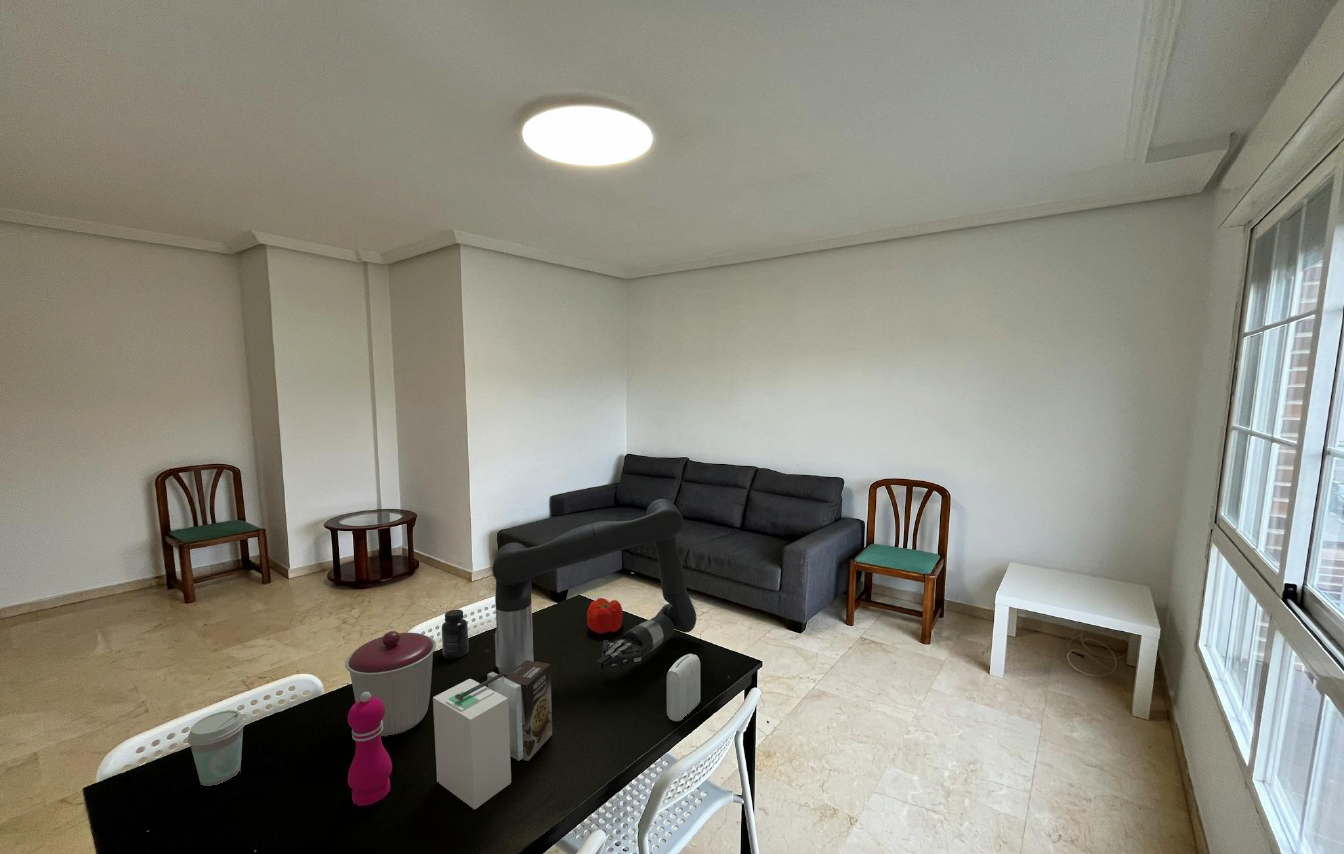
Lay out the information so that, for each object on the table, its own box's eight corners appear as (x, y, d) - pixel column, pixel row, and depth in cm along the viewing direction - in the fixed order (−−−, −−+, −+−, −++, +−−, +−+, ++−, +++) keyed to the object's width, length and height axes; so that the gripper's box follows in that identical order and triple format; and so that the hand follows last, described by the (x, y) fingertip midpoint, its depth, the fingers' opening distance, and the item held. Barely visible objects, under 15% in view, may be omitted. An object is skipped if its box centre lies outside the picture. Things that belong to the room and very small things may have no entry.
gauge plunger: (447, 770, 105) (443, 688, 104) (495, 740, 114) (492, 664, 113) (475, 790, 100) (472, 704, 99) (523, 757, 109) (520, 678, 107)
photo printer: (687, 696, 133) (687, 647, 132) (703, 701, 131) (702, 651, 129) (664, 718, 124) (663, 665, 123) (680, 724, 122) (679, 671, 121)
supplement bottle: (474, 650, 156) (472, 609, 155) (455, 661, 150) (453, 619, 149) (456, 645, 159) (454, 605, 158) (437, 656, 153) (435, 615, 152)
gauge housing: (437, 781, 105) (432, 695, 104) (473, 757, 112) (469, 676, 110) (474, 809, 98) (470, 717, 97) (511, 782, 105) (507, 695, 103)
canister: (453, 720, 124) (448, 630, 123) (366, 761, 111) (360, 661, 109) (419, 690, 137) (415, 608, 135) (338, 723, 124) (332, 633, 122)
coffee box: (529, 761, 110) (526, 685, 109) (502, 754, 113) (499, 679, 111) (553, 734, 119) (551, 663, 118) (528, 728, 121) (526, 658, 120)
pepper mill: (360, 781, 105) (354, 682, 104) (399, 779, 106) (394, 680, 104) (341, 811, 98) (334, 705, 97) (383, 808, 99) (376, 702, 97)
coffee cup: (202, 803, 100) (196, 741, 99) (184, 785, 105) (179, 726, 104) (256, 774, 108) (252, 716, 107) (238, 759, 112) (233, 703, 111)
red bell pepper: (579, 633, 166) (578, 604, 166) (604, 618, 176) (603, 591, 176) (607, 642, 161) (606, 612, 160) (631, 626, 171) (630, 598, 170)
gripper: (624, 619, 150) (578, 643, 136) (662, 631, 143) (618, 659, 128) (624, 645, 151) (579, 672, 137) (662, 659, 143) (619, 689, 129)
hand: (598, 666), depth 133 cm, fingers closed
